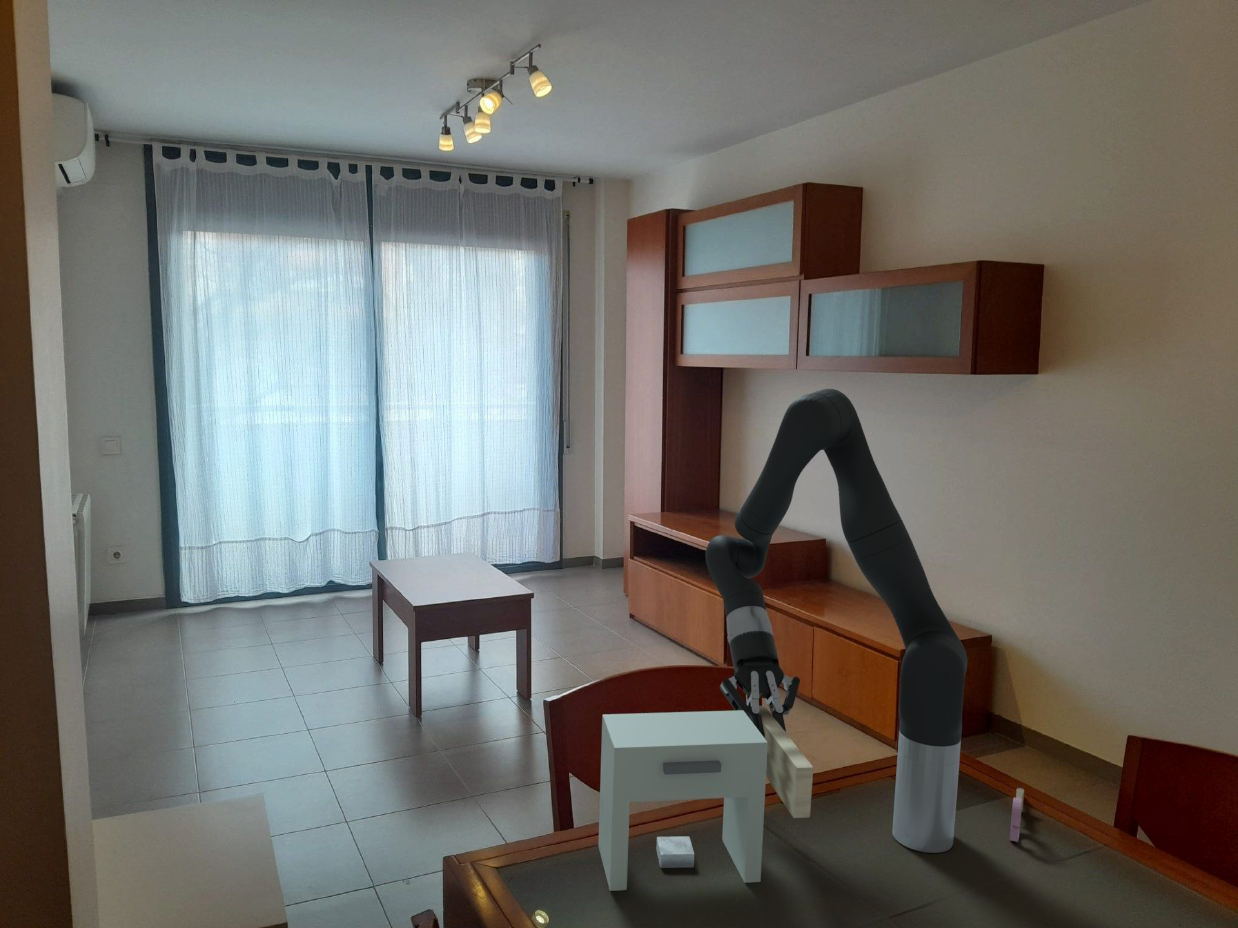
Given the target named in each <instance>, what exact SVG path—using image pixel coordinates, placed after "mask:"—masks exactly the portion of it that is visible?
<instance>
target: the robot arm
mask: <svg viewBox="0 0 1238 928" xmlns="http://www.w3.org/2000/svg"><path fill="white" fill-rule="evenodd" d="M862 426H863V425H862V424H861V420H860V418H859V416H858V412H857V410H856V408H855V406H854V404H853V403H852V401H851V400H850V399H849V397H848V396H847V395H846V394H845V393H843V392H842V391H840V390H837V389H835V388H823V389H819V390H816V391H813V392H810V393H807V394H804V395H802V396H799V397H797V398H796V399H794V400H793V401H792V402H791V403H790V404H789V406H788V407H787V409H786V411H785V412H784V415H783V417H782V419H781V422H780V425H779V427H778V430H777V433H776V437H775V439H774V442H773V445H772V447H771V449H770V451H769V454H768V457H767V459H766V461H765V464H764V467H763V469H762V470H761V473H760V474H759V477H758V479H757V481H756V482H755V484H754V486H753V488H752V489H751V490H750V492H749V495H747V497H746V499H745V501H744V502H743V505H742V507H741V508H740V510H738V513H737V515H736V517H735V519H734V528H735V530H736V532H737V533H738V535H739V536H741V537H738V536H737V537H736V536H730V535H722V534H721V535H716V536H714V537H713V538H711V539H710V540H709V542H708V544H707V545H706V548H705V549H706V550H705V563H706V567H707V570H708V572H709V574H710V577H711V578H712V580H713V583H714V585H715V586H716V588H717V591H718V592H719V595H720V596H721V598H722V601H723V606H724V612H725V618H726V619H725V620H726V632H727V642H728V644H729V650H730V654H731V661H732V666H733V670H734V671H733V674H732V677H729V678H728V677H725V678H723V680H722V681H721V684H720V685H719V690H720V691H721V693H722V695H724V697H725V699H726V700H727V701H728V703H729V704H730V705H731V707H732V708H733V711H738V710H743V711H744V712H745V713H746V715H747V716H748V717H749V718H750V720H751V721H752V722H753V724H754V725H755V726H756V728H757V729H758V730H759V732H760V733H761V734H762V736H763V737H764V738H765V734H764V728H763V723H762V717H761V714H759V706H760V703H759V702H760V701H759V700H760V699H764V700H765V703H766V706H767V707H768V708H769V712H770V713H771V715H772V716H773V717H774V719H775V720H776V721H777V722H778V723H779V725H780V726H781V727H782V728H783V730H784V731H785V732H786V733H787V729H786V724H785V719H784V716H787V715H788V714H789V713H790V712H791V711H792V709H793V707H794V704H795V700H796V697H797V694H798V690H799V686H800V684H801V683H800V682H801V679H800V678H799V677H798V676H794V677H791V676H788V675H785V671H784V670H783V669H782V668H781V665H780V660H779V656H778V651H777V647H776V646H777V645H776V642H775V637H774V632H773V627H772V624H771V620H770V618H769V617H770V616H769V615H768V611H767V605H766V601H765V596H764V593H763V589H762V586H761V585H760V584H759V583H758V582H756V581H754V580H752V578H753V579H754V578H755V577H757V576H758V575H759V574H760V573H761V572H762V571H763V569H764V567H765V563H766V560H767V555H768V551H769V548H770V544H771V541H772V537H773V535H774V534H775V532H776V530H777V529H778V527H779V526H780V524H781V522H782V521H783V519H784V517H785V515H787V512H788V510H789V508H790V505H791V503H792V500H793V495H794V491H795V486H796V484H797V481H798V479H799V477H800V475H801V474H802V472H803V471H804V469H805V467H807V465H808V464H810V462H811V461H812V460H813V458H815V456H816V455H817V454H818V453H819V452H821V451H824V453H825V455H826V457H827V459H828V462H829V464H830V466H831V468H832V470H833V473H834V475H835V479H836V481H837V488H838V489H837V490H838V501H839V502H838V503H839V504H838V505H839V515H840V516H839V517H840V525H841V530H842V533H843V536H844V539H845V541H846V542H847V545H848V548H849V549H850V551H851V554H852V556H853V558H854V560H855V562H856V564H857V566H858V568H859V569H860V572H861V573H862V574H863V576H864V577H865V579H866V580H867V582H869V584H870V585H871V586H872V588H873V589H874V590H875V592H876V594H878V595H879V597H880V598H881V599H882V600H883V602H884V603H885V604H886V606H887V608H888V609H889V611H890V612H891V615H892V617H893V619H894V621H895V623H896V626H897V628H898V631H899V634H900V636H901V639H902V642H903V644H904V645H903V646H904V649H905V652H904V653H905V654H904V655H903V658H902V662H901V668H900V670H901V671H900V685H899V705H898V717H899V728H898V729H899V730H898V745H897V748H898V749H897V758H896V759H897V760H896V776H895V789H894V790H895V791H894V803H893V815H892V816H893V819H892V836H893V838H894V839H895V840H896V841H897V842H898V843H899V844H901V845H903V846H904V847H906V848H908V849H911V850H915V851H918V852H922V853H927V854H929V853H931V854H932V853H933V854H936V853H937V854H939V853H944V852H947V851H949V850H950V849H951V848H952V847H953V845H954V838H955V837H954V836H955V825H956V824H955V821H956V810H957V808H956V807H957V798H958V783H959V773H960V772H959V771H960V769H959V768H960V760H961V759H960V756H961V743H962V741H961V740H962V732H963V707H964V706H963V705H964V692H965V691H964V690H965V681H966V673H967V669H968V656H967V655H968V654H967V652H966V649H965V646H964V645H963V642H962V641H961V639H960V637H959V636H958V634H957V633H956V632H955V630H954V628H953V626H952V625H951V622H950V621H949V620H948V618H947V616H946V615H945V613H944V612H943V610H942V607H940V605H939V602H938V601H937V599H936V597H935V595H934V593H933V591H932V589H931V588H932V587H931V585H930V583H929V580H928V577H927V574H926V573H925V572H926V571H925V570H924V567H923V565H922V562H921V559H920V557H919V555H918V553H917V551H916V548H915V545H914V542H913V540H912V538H911V536H910V533H909V532H908V529H907V528H906V525H905V523H904V521H903V519H902V517H901V515H900V513H899V511H898V509H897V507H896V506H895V504H894V502H893V499H892V497H891V495H890V493H889V490H888V488H887V486H886V483H885V481H884V480H883V477H882V475H881V473H880V470H879V469H878V467H877V465H876V463H875V460H874V457H873V455H872V453H871V450H870V447H869V443H868V441H867V438H866V435H865V432H864V429H863V427H862ZM781 684H783V688H784V690H785V691H786V694H785V697H784V701H783V703H782V702H781V696H780V691H779V688H780V686H781ZM737 686H738V688H740V690H741V691H742V692H743V693H744V694H745V698H746V699H744V698H743V697H742V695H741V694H740V693H739V691H738V690H737ZM745 700H746V701H745Z"/></svg>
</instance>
